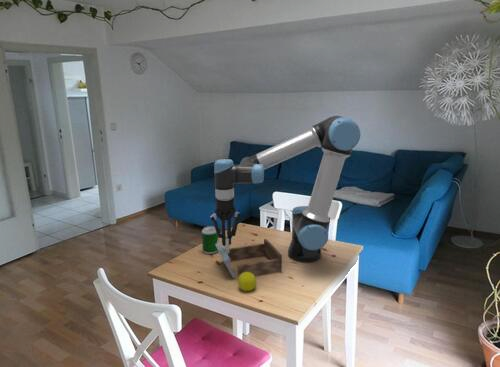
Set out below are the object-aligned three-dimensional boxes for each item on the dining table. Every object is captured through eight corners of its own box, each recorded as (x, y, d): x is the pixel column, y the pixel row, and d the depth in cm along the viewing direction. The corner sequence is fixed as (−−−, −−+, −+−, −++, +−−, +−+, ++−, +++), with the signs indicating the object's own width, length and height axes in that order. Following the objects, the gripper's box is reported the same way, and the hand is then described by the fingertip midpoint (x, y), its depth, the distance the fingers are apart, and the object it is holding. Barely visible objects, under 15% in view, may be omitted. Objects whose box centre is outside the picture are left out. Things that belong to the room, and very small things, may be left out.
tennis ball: (240, 295, 137) (240, 278, 135) (236, 286, 144) (235, 270, 142) (258, 292, 139) (258, 275, 137) (253, 283, 146) (253, 267, 144)
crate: (266, 255, 171) (266, 238, 169) (281, 272, 154) (281, 255, 152) (227, 261, 165) (226, 244, 163) (238, 280, 148) (238, 261, 146)
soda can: (216, 256, 170) (215, 231, 167) (200, 255, 172) (199, 230, 169) (220, 249, 177) (219, 225, 175) (205, 248, 179) (204, 225, 176)
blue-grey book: (227, 258, 164) (219, 241, 161) (238, 276, 148) (229, 258, 145) (223, 260, 164) (215, 244, 161) (233, 278, 148) (224, 260, 145)
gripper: (237, 193, 154) (239, 246, 159) (207, 197, 150) (209, 250, 156) (242, 198, 147) (244, 253, 152) (211, 202, 143) (213, 258, 149)
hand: (226, 252), depth 154 cm, fingers closed
